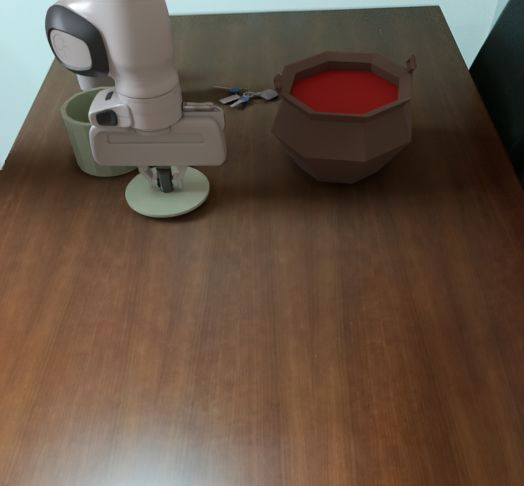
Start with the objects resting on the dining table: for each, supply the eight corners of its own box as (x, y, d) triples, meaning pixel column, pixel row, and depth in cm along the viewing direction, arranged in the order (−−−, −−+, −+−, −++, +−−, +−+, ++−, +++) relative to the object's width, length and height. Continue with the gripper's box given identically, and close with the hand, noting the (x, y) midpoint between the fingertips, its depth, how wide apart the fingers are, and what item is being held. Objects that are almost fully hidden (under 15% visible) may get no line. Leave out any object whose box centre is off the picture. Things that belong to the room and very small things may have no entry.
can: (74, 88, 120) (56, 27, 111) (105, 76, 123) (89, 14, 114) (93, 101, 116) (76, 38, 107) (124, 87, 119) (110, 25, 110)
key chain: (281, 91, 116) (281, 87, 115) (274, 112, 111) (274, 108, 110) (213, 87, 118) (212, 83, 117) (203, 108, 113) (202, 104, 112)
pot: (69, 177, 100) (52, 125, 93) (86, 137, 108) (71, 87, 101) (142, 176, 99) (130, 124, 92) (153, 136, 107) (143, 85, 100)
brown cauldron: (287, 213, 91) (287, 114, 79) (257, 134, 106) (252, 40, 94) (432, 189, 94) (454, 90, 81) (382, 115, 109) (394, 22, 96)
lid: (119, 220, 91) (111, 193, 87) (134, 170, 99) (128, 143, 96) (205, 220, 90) (201, 193, 86) (213, 170, 99) (210, 143, 95)
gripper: (225, 91, 84) (232, 174, 95) (87, 93, 85) (109, 174, 96) (221, 114, 80) (229, 197, 91) (76, 115, 81) (100, 197, 92)
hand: (166, 186), depth 94 cm, fingers closed on lid, 2 cm apart
